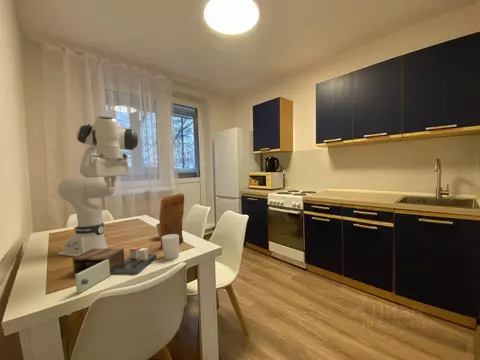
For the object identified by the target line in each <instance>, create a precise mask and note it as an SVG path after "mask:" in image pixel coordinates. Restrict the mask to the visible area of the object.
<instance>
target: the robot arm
mask: <svg viewBox="0 0 480 360" xmlns="http://www.w3.org/2000/svg"><path fill="white" fill-rule="evenodd" d="M76 138H77V142H79V143H81V144H83V145H85V144H86V145H88V146H89V147H87V148H86V149H85V151H84V153H83V155H82V158H81V162H80V166H79V172H80V174H81V175H82V176H83V178H79V177H78V178H70V179H69V178H68V179H64V180H62V181H61V182H60V183H59V184H58V186H57V193H58V195H59V196H60V198H62V199H63V200H65V201H67V202H69V204H71V205H72V207H73V209H74V210H75V213H76V219H77V225H76V226H75V227H73V231H75V232H74V233H73V234H72V235H71V236H70V237H68V239H66V240H65V241H64V244H63V249H62V250H60V251H58V255H60V256H67V257H69V256H70V257H76V256H78V255H80V254H83V253H85V252H87V251H89V250H91V249H109V248H108V245H107V241H106V238H105V237H106V236H105V226H104V225H105V223H104V221H103V211H102V208H101V207H100V206H98V205H96V204H92V203H91V202H90V201H89V200H91V199H102V198H107V197H111V196H113V195H114V194H115V192H116V189H117V188H116V182H117V180H118V179H117V177H124V176H125V177H126V176H128V175H129V162H128V159H129V156H128V154H127V153H125V152H123V151H122V150H128V151H134V150H135V149H136V148H137V147H138V144H139V136H138V134H137V132H136V131H135V130H134V129H132V128H126V127H123V126H121V125H119V123H118V121H117V119H116V118H115V117H109V116H98V117H96V119H95V120H94V121H93V122H92V125H91V124H90V123H88V124H84V125H80V127H79V128H78V129H77V131H76Z"/></svg>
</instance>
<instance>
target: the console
mask: <svg viewBox="0 0 480 360" xmlns="http://www.w3.org/2000/svg"><path fill="white" fill-rule="evenodd" d="M157 258H158V257H157V254H155V253H154V254H153V253H148V258H147V259H146V260H139V257H138V258H137V259H131V256H130V257H128V258H127V259H124V262H122V263H120V264H119V265H117V266H116V267H114V268H113V269H112V273H111V274H112V275H139V274H140V273H142V271H143V270H145V268H147V267H148V266H149V265H150V264H152V263H153V262H154V261H156V260H157Z"/></svg>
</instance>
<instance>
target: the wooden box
mask: <svg viewBox="0 0 480 360" xmlns="http://www.w3.org/2000/svg"><path fill="white" fill-rule="evenodd" d="M105 260H109V267H110V275H111V274H112V269H113V268H114V267H116V266H117V265H119V264H120V263H122V262H124V261H125V251H124V248H107V249H91V250H89V251H87V252H85V253H83V254H80V255H78V256H76V257H75V256H73V257H72V266H73V267H72V268H73V276H75V275H76V274H78V273H80V272H82V271H84V270H86V269H88V268H90V267H92V266H94V265H96V264H98V263H101V262H103V261H105Z"/></svg>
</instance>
